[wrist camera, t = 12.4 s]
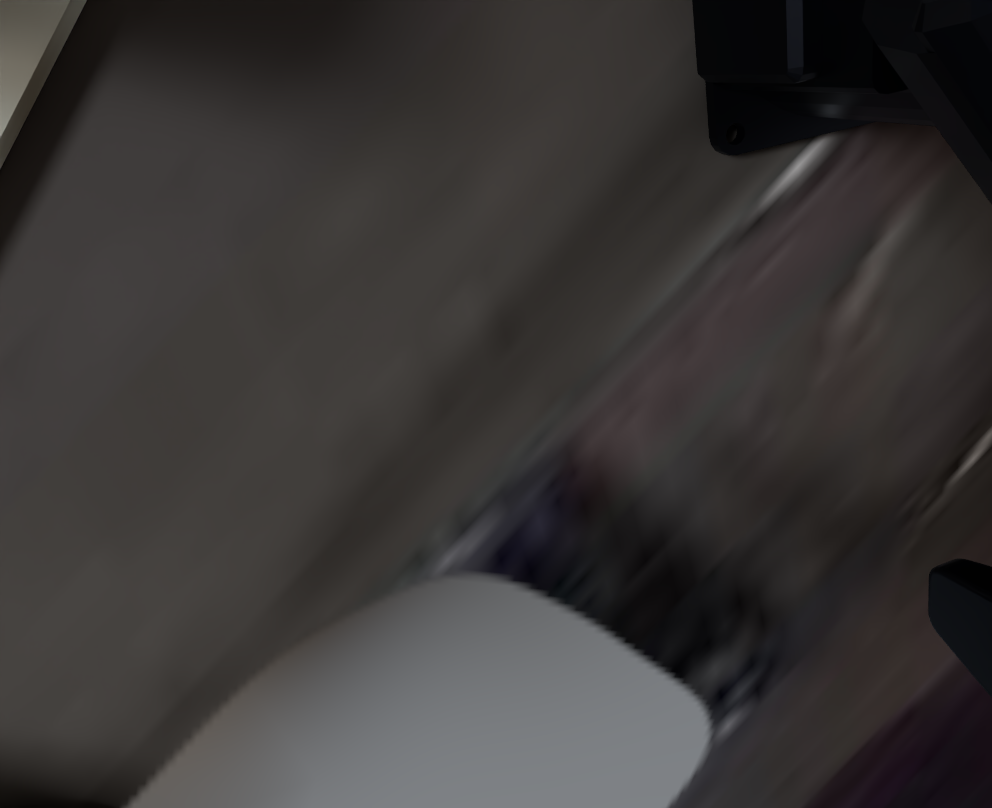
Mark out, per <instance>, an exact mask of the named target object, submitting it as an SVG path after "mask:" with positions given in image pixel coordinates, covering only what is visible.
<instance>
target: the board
mask: <svg viewBox="0 0 992 808" xmlns="http://www.w3.org/2000/svg"><path fill="white" fill-rule="evenodd" d="M86 1H87V0H0V169H1V167H2V165H3V163H4V161H5V159H6V157H7V155H8V153H9V151H10V149H11V147H12V146H13V144H14V142H15V140H16V138H17V136H18V134H19V132H20V130H21V128H22V126H23V124H24V122H25V120H26V118H27V116H28V114H29V112H30V110H31V108H32V107H33V105H34V103H35V101H36V99H37V97H38V95H39V93H40V91H41V89H42V87H43V85H44V83H45V81H46V79H47V77H48V75H49V73H50V71H51V69H52V68H53V66H54V64H55V62H56V60H57V58H58V56H59V54H60V52H61V50H62V48H63V46H64V44H65V42H66V40H67V38H68V36H69V34H70V32H71V30H72V29H73V27H74V25H75V23H76V21H77V19H78V17H79V15H80V13H81V11H82V9H83V7H84V5H85V3H86Z"/></svg>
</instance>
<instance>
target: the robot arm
mask: <svg viewBox="0 0 992 808" xmlns="http://www.w3.org/2000/svg"><path fill="white" fill-rule="evenodd" d="M692 2H693V16H694V30H695V44H696V58H697V71H698V74H699V75H700V76H701V77H702V78H703V79H704V80H705V82H706V97H707V112H708V127H709V138H710V142H711V145H712V147H713V148H714V149H715V151H717V152H719V153H722V154H726V155H738V154H743V153H747V152H751V151H755V150H759V149H764V148H768V147H772V146H776V145H780V144H785V143H789V142H793V141H797V140H801V139H805V138H810V137H814V136H818V135H822V134H826V133H831V132H835V131H839V130H843V129H847V128H852V127H856V126H860V125H864V124H868V123H872V122H889V123H902V124H914V125H927V126H936V128H937V129H938V130H939V132H940V133H941V135H942V136H943V137H944V139H945V140H946V141H947V143H948V144H949V146H950V147H951V148H952V150H953V151H954V153H955V154H956V155H957V157H958V158H959V159H960V161H961V162H962V164H963V165H964V166H965V168H966V169H967V171H968V172H969V173H970V175H971V176H972V178H973V179H974V180H975V182H976V183H977V184H978V186H979V187H980V189H981V190H982V191H983V193H984V194H985V196H986V197H987V198H988V200H989V201H990V203H991V204H992V0H692ZM732 124H734V125H735V126H736V128H737V135H736V138H735V139H734V140H733V141H732V142H731V143H728V142H727V139H726V132H727V130H728V128H729V127H730V126H731V125H732ZM928 613H929V618H930V621H931V623H932V626H933V627H934V629H935V630H936V632H937V633H938V634H939V636H940V637H941V638H942V639H943V640H944V642H945V643H946V644H947V645H948V646H949V647H950V649H951V650H952V651H953V652H954V653H955V655H956V656H957V657H958V658H959V659H960V661H961V662H962V663H963V664H964V665H965V667H966V668H967V669H968V670H969V671H970V672H971V674H972V675H973V676H974V677H975V678H976V680H977V681H978V682H979V683H980V684H981V686H982V687H983V688H984V689H985V690H986V692H987V693H988V694H989V695H990V696H991V697H992V567H991V566H987V565H984V564H980V563H977V562H974V561H970V560H966V559H954V560H951V561H949V562H946V563H944V564H941V565H939V566H936V567H934V568H933V569H932V570H931V572H930V574H929V601H928Z"/></svg>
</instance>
